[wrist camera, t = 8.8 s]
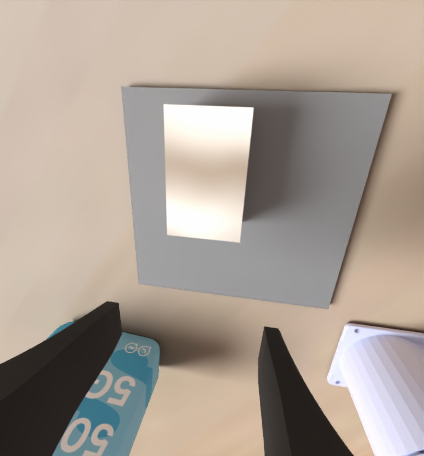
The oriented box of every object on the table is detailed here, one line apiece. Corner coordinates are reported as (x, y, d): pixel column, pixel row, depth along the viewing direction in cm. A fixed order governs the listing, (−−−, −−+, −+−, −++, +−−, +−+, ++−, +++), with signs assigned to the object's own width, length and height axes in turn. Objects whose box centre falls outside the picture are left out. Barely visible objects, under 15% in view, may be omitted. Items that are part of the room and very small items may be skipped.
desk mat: (386, 95, 15) (392, 93, 14) (326, 304, 21) (328, 309, 21) (125, 88, 17) (121, 86, 17) (141, 280, 24) (138, 284, 23)
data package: (164, 340, 26) (103, 488, 15) (162, 367, 28) (106, 517, 17) (66, 317, 27) (-58, 441, 16) (70, 345, 29) (-39, 473, 18)
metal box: (241, 222, 19) (239, 242, 15) (182, 216, 20) (167, 234, 16) (252, 114, 16) (253, 107, 12) (182, 111, 17) (163, 104, 13)
